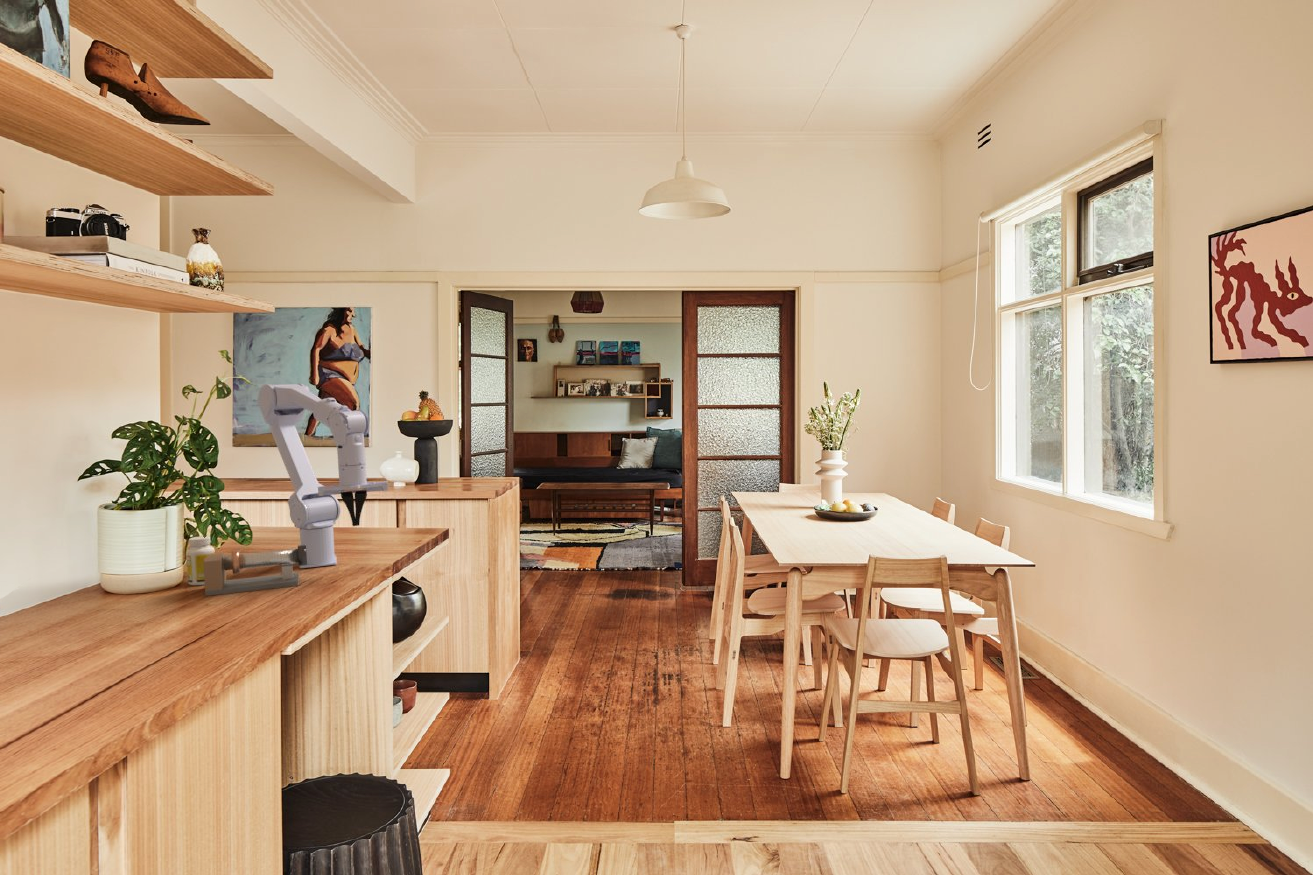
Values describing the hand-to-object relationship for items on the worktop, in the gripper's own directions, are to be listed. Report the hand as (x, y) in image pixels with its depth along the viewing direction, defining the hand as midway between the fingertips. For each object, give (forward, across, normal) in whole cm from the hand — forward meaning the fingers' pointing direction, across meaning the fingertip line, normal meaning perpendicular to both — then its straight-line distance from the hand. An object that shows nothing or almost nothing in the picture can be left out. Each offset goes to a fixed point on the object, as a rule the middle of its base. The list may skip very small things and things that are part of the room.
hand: (355, 525), depth 177 cm
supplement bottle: (+10, -31, +6) cm, 33 cm away
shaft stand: (+10, -20, -4) cm, 23 cm away
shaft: (+7, -18, -4) cm, 20 cm away
